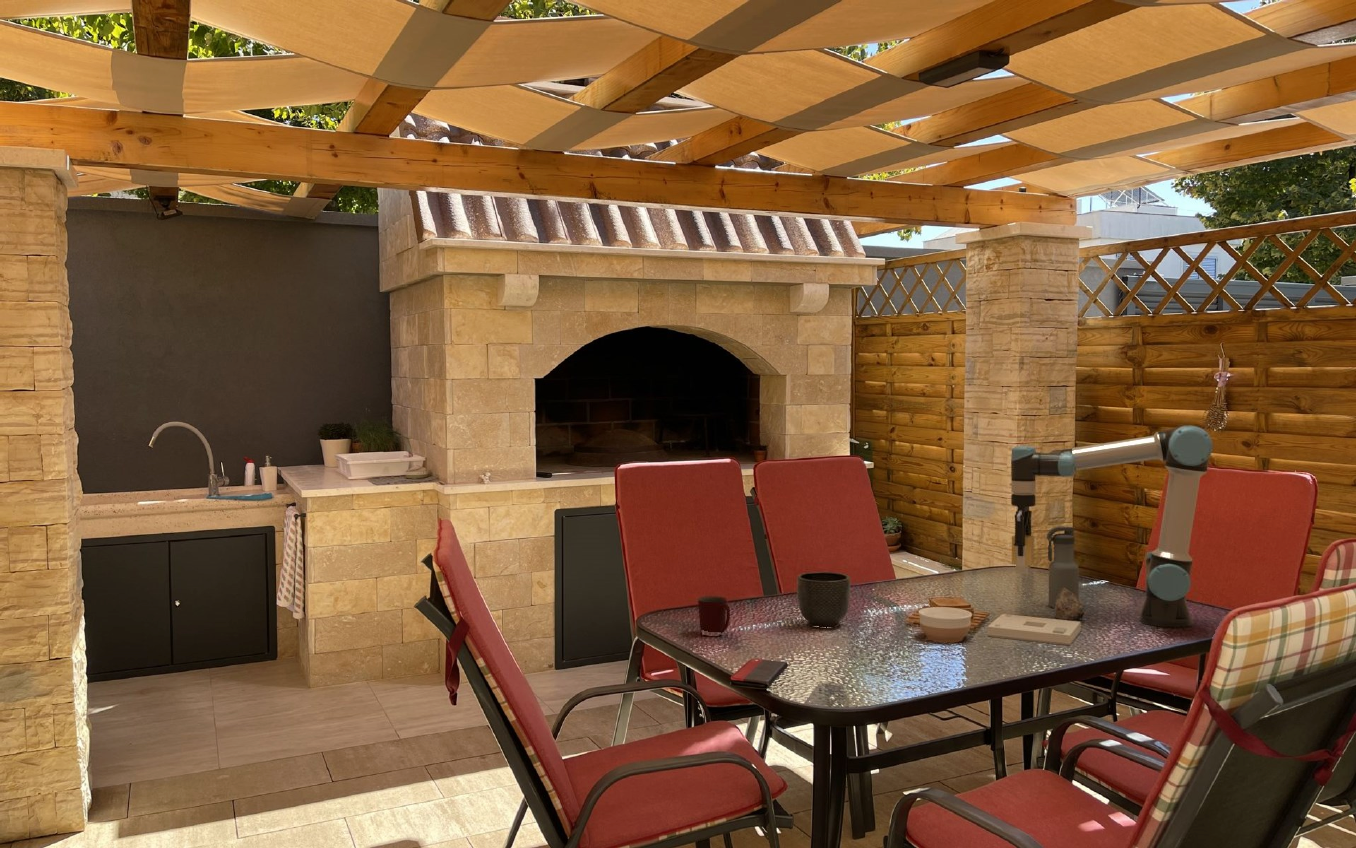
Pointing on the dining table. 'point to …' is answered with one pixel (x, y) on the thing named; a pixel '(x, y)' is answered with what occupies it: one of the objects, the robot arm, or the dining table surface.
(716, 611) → the mug
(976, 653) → the dining table surface
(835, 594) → the planter
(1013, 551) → the plug
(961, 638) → the bowl
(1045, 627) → the socket plate
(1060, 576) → the water bottle
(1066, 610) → the rock
